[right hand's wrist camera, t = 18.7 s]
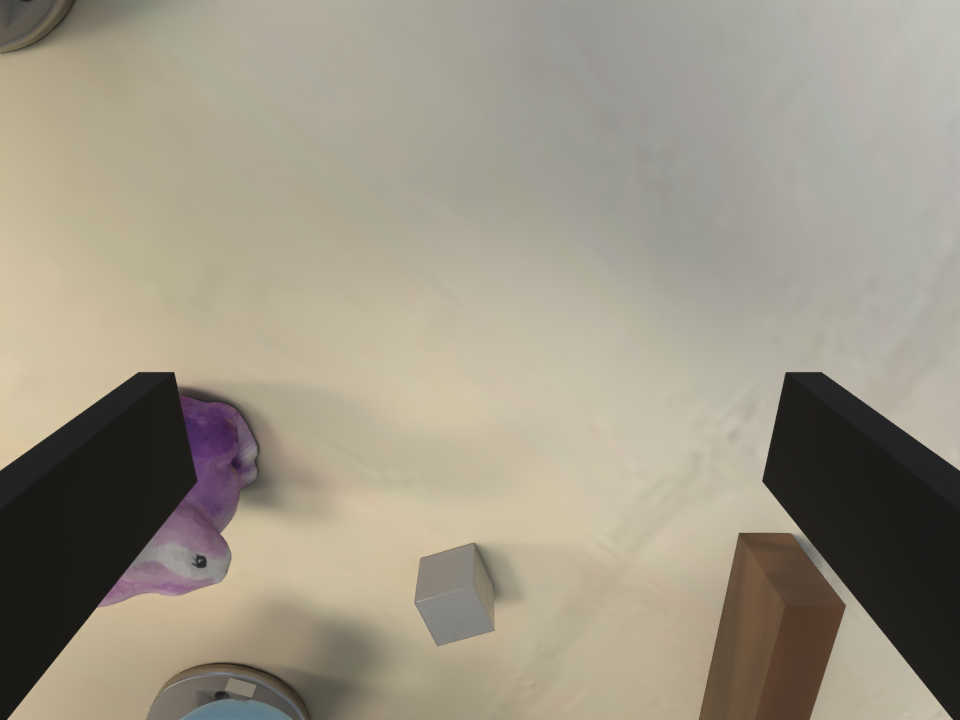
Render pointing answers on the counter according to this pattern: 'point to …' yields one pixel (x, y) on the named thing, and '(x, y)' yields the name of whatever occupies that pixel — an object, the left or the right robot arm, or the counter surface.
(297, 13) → the counter surface
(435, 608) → the grey ceramic block
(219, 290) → the counter surface
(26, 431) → the counter surface
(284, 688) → the left robot arm
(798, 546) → the walnut block
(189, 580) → the figurine
